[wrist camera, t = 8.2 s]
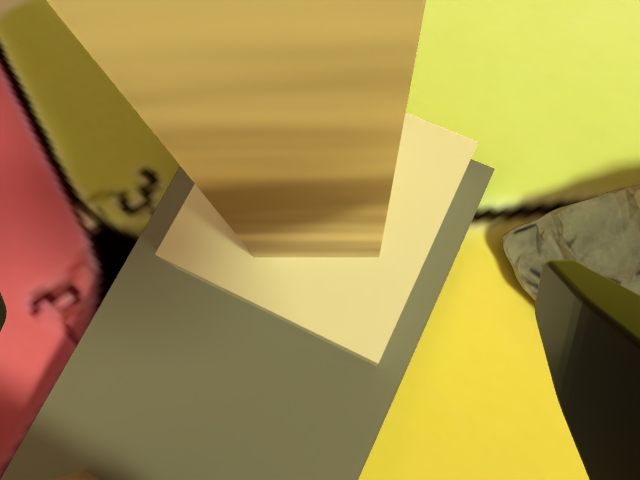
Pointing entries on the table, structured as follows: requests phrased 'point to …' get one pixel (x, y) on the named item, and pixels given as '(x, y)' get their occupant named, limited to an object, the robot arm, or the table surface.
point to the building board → (255, 340)
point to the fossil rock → (582, 240)
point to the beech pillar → (269, 106)
